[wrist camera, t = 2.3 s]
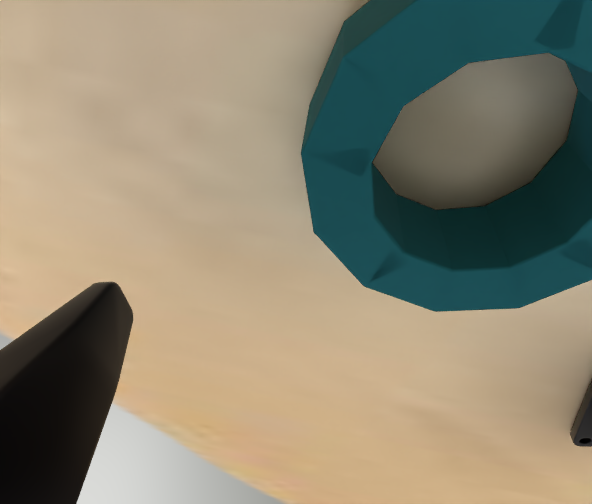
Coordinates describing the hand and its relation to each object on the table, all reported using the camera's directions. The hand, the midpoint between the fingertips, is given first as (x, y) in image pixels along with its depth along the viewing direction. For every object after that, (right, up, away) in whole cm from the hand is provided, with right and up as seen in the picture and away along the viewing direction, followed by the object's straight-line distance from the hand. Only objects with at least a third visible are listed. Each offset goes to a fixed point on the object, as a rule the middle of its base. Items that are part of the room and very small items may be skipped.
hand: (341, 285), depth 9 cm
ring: (+4, +4, +4) cm, 7 cm away
